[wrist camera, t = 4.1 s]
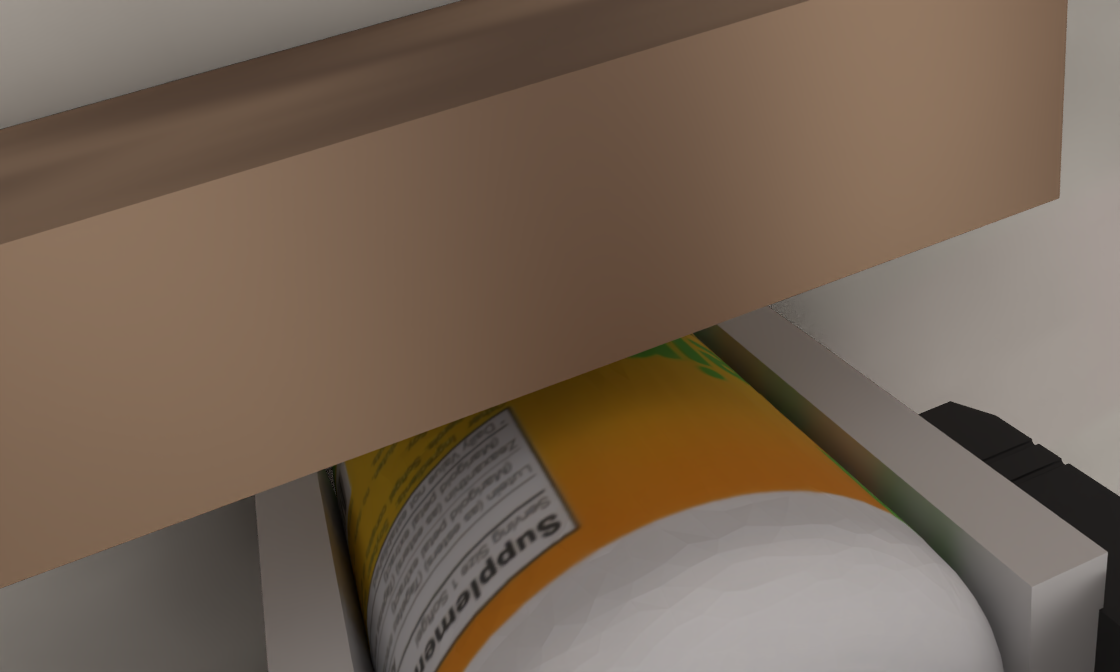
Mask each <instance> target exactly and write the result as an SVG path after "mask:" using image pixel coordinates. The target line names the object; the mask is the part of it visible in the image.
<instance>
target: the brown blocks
mask: <svg viewBox="0 0 1120 672" xmlns="http://www.w3.org/2000/svg"><path fill="white" fill-rule="evenodd" d="M1067 4H1068V0H462V1H459V2H455V3H451V4H448V5H444V6H441V7H437V8H434V9H430V10H426V11H423V12H419V13H416V14H412V15H408V16H405V17H401V18H398V19H394V20H391V21H387V22H383V23H380V24H376V25H373V26H369V27H366V28H362V29H358V30H355V31H351V32H348V33H344V34H341V35H337V36H333V37H330V38H326V39H323V40H319V41H315V42H312V43H308V44H305V45H301V46H298V47H294V48H290V49H287V50H283V51H280V52H276V53H273V54H269V55H265V56H262V57H258V58H255V59H251V60H248V61H244V62H240V63H237V64H233V65H230V66H226V67H222V68H219V69H215V70H212V71H208V72H205V73H201V74H197V75H194V76H190V77H187V78H183V79H180V80H176V81H172V82H169V83H165V84H162V85H158V86H155V87H151V88H147V89H144V90H140V91H137V92H133V93H129V94H126V95H122V96H119V97H115V98H112V99H108V100H104V101H101V102H97V103H94V104H90V105H87V106H83V107H79V108H76V109H72V110H69V111H65V112H62V113H58V114H54V115H51V116H47V117H44V118H40V119H36V120H33V121H29V122H26V123H22V124H19V125H15V126H11V127H8V128H4V129H1V130H0V588H3V587H6V586H8V585H11V584H14V583H16V582H19V581H22V580H25V579H27V578H30V577H33V576H35V575H38V574H41V573H44V572H46V571H49V570H52V569H54V568H57V567H60V566H63V565H65V564H68V563H71V562H73V561H76V560H79V559H82V558H84V557H87V556H90V555H92V554H95V553H98V552H101V551H103V550H106V549H109V548H111V547H114V546H117V545H119V544H122V543H125V542H128V541H130V540H133V539H136V538H138V537H141V536H144V535H147V534H149V533H152V532H155V531H157V530H160V529H163V528H166V527H168V526H171V525H174V524H176V523H179V522H182V521H185V520H187V519H190V518H193V517H195V516H198V515H201V514H204V513H206V512H209V511H212V510H214V509H217V508H220V507H223V506H225V505H228V504H231V503H233V502H236V501H239V500H242V499H244V498H247V497H250V496H252V495H255V494H258V493H261V492H263V491H266V490H269V489H271V488H274V487H277V486H280V485H282V484H285V483H288V482H290V481H293V480H296V479H299V478H301V477H304V476H307V475H309V474H312V473H315V472H318V471H320V470H323V469H326V468H328V467H331V466H334V465H337V464H339V463H342V462H345V461H347V460H350V459H353V458H356V457H358V456H361V455H364V454H366V453H369V452H372V451H375V450H377V449H380V448H383V447H385V446H388V445H391V444H393V443H396V442H399V441H402V440H404V439H407V438H410V437H412V436H415V435H418V434H421V433H423V432H426V431H429V430H431V429H434V428H437V427H440V426H442V425H445V424H448V423H450V422H453V421H456V420H459V419H461V418H464V417H467V416H469V415H472V414H475V413H478V412H480V411H483V410H486V409H488V408H491V407H494V406H497V405H499V404H502V403H505V402H507V401H510V400H513V399H516V398H518V397H521V396H524V395H526V394H529V393H532V392H535V391H537V390H540V389H543V388H545V387H548V386H551V385H554V384H556V383H559V382H562V381H564V380H567V379H570V378H573V377H575V376H578V375H581V374H583V373H586V372H589V371H592V370H594V369H597V368H600V367H602V366H605V365H608V364H611V363H613V362H616V361H619V360H621V359H624V358H627V357H630V356H632V355H635V354H638V353H640V352H643V351H646V350H649V349H651V348H654V347H657V346H659V345H662V344H665V343H667V342H670V341H673V340H676V339H678V338H681V337H684V336H686V335H689V334H692V333H695V332H697V331H700V330H703V329H705V328H708V327H711V326H714V325H716V324H719V323H722V322H724V321H727V320H730V319H733V318H735V317H738V316H741V315H743V314H746V313H749V312H752V311H754V310H757V309H760V308H762V307H765V306H768V305H771V304H773V303H776V302H779V301H781V300H784V299H787V298H790V297H792V296H795V295H798V294H800V293H803V292H806V291H809V290H811V289H814V288H817V287H819V286H822V285H825V284H828V283H830V282H833V281H836V280H838V279H841V278H844V277H847V276H849V275H852V274H855V273H857V272H860V271H863V270H866V269H868V268H871V267H874V266H876V265H879V264H882V263H885V262H887V261H890V260H893V259H895V258H898V257H901V256H904V255H906V254H909V253H912V252H914V251H917V250H920V249H923V248H925V247H928V246H931V245H933V244H936V243H939V242H941V241H944V240H947V239H950V238H952V237H955V236H958V235H960V234H963V233H966V232H969V231H971V230H974V229H977V228H979V227H982V226H985V225H988V224H990V223H993V222H996V221H998V220H1001V219H1004V218H1007V217H1009V216H1012V215H1015V214H1017V213H1020V212H1023V211H1026V210H1028V209H1031V208H1034V207H1036V206H1039V205H1042V204H1045V203H1047V202H1050V201H1053V200H1055V199H1058V198H1059V195H1060V171H1061V148H1062V124H1063V100H1064V76H1065V52H1066V28H1067Z"/></svg>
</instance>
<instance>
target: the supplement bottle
mask: <svg viewBox="0 0 1120 672" xmlns="http://www.w3.org/2000/svg"><path fill="white" fill-rule="evenodd" d="M332 468H333V476H334V484H335V490H336V495H337V501H338V506H339V511H340V515H341V519H342V523H343V528H344V533H345V538H346V542H347V546H348V551H349V556H350V561H351V566H352V571H353V575H354V579H355V584H356V588H357V594H358V599H359V603H360V608H361V612H362V616H363V620H364V625H365V630H366V637H367V641H368V649H369V651H370V657H371V661H372V666H373V670H374V672H1004V669H1003V663H1002V658H1001V654H1000V651H999V648H998V646H997V643H996V640H995V637H994V634H993V631H992V629H991V626H990V624H989V622H988V620H987V618H986V616H985V614H984V613H983V611H982V609H981V607H980V606H979V604H978V602H977V600H976V599H975V597H974V596H973V594H972V593H971V592H970V590H969V589H968V587H967V586H966V585H965V583H964V582H963V581H962V580H961V578H960V577H959V576H958V574H957V573H956V572H955V571H954V570H953V569H952V568H951V567H950V566H949V565H948V564H947V563H946V562H945V561H944V560H943V559H942V558H941V557H940V556H939V555H938V554H937V553H936V552H935V551H934V550H933V549H932V548H931V547H930V546H929V545H928V544H927V543H926V542H925V541H924V540H923V538H922V537H921V536H919V535H918V534H917V533H916V532H915V531H914V530H913V529H912V528H911V527H910V526H909V525H907V524H906V523H905V522H904V521H903V520H902V519H901V518H900V517H899V516H898V515H897V514H896V513H894V512H893V511H892V510H891V509H890V508H889V507H887V506H886V505H885V504H884V503H883V502H881V501H880V500H879V499H878V498H877V497H876V496H875V495H873V494H872V493H871V492H870V491H869V490H868V489H867V488H866V487H864V486H863V485H862V484H861V483H860V482H859V481H858V480H857V479H855V478H854V477H853V476H852V475H851V474H850V473H849V472H848V471H846V470H845V469H844V468H843V467H842V466H841V465H840V464H839V463H837V462H836V461H835V460H834V459H833V458H832V457H831V456H830V455H828V454H827V453H826V452H825V451H824V450H823V449H822V448H820V447H819V446H818V445H817V444H816V443H815V442H814V441H812V440H811V439H810V438H809V437H808V436H807V435H806V434H804V433H803V432H802V431H801V430H800V429H799V428H798V427H796V426H795V425H794V424H793V423H792V422H791V421H790V420H788V419H787V418H786V417H785V416H784V415H783V414H782V413H780V412H779V411H778V410H777V409H776V408H775V407H774V406H773V405H772V404H771V403H770V402H769V401H768V400H766V399H765V398H764V397H763V396H762V395H761V394H759V393H758V392H757V391H756V390H755V389H754V388H753V387H752V386H751V385H750V384H749V383H747V382H746V381H745V380H744V379H743V378H742V377H740V376H739V375H738V374H737V373H736V372H735V371H734V370H733V369H732V368H730V367H729V366H728V365H727V364H726V363H725V362H724V361H723V360H721V359H720V358H719V357H718V356H717V355H716V354H715V353H714V352H713V351H711V350H710V349H709V348H708V347H707V346H706V345H705V344H704V343H702V342H701V341H700V340H699V339H698V338H697V337H696V336H695V335H694V334H693V333H692V334H689V335H686V336H684V337H681V338H678V339H676V340H673V341H670V342H667V343H665V344H662V345H659V346H657V347H654V348H651V349H649V350H646V351H643V352H640V353H638V354H635V355H632V356H630V357H627V358H624V359H621V360H619V361H616V362H613V363H611V364H608V365H605V366H602V367H600V368H597V369H594V370H592V371H589V372H586V373H583V374H581V375H578V376H575V377H573V378H570V379H567V380H564V381H562V382H559V383H556V384H554V385H551V386H548V387H545V388H543V389H540V390H537V391H535V392H532V393H529V394H526V395H524V396H521V397H518V398H516V399H513V400H510V401H507V402H505V403H502V404H499V405H497V406H494V407H491V408H488V409H486V410H483V411H480V412H478V413H475V414H472V415H469V416H467V417H464V418H461V419H459V420H456V421H453V422H450V423H448V424H445V425H442V426H440V427H437V428H434V429H431V430H429V431H426V432H423V433H421V434H418V435H415V436H412V437H410V438H407V439H404V440H402V441H399V442H396V443H393V444H391V445H388V446H385V447H383V448H380V449H377V450H375V451H372V452H369V453H366V454H364V455H361V456H358V457H356V458H353V459H350V460H347V461H345V462H342V463H339V464H337V465H334V466H332Z"/></svg>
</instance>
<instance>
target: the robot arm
mask: <svg viewBox="0 0 1120 672" xmlns="http://www.w3.org/2000/svg"><path fill="white" fill-rule="evenodd" d="M693 334H694V335H695V336H696V337H697V338H698V339H699V340H700V341H701V342H702V343H704V344H705V345H706V346H707V347H708V348H709V349H710V350H711V351H713V352H714V353H715V354H716V355H717V356H718V357H719V358H720V359H721V360H723V361H724V362H725V363H726V364H727V365H728V366H729V367H730V368H732V369H733V370H734V371H735V372H736V373H737V374H738V375H739V376H740V377H742V378H743V379H744V380H745V381H746V382H747V383H749V384H750V385H751V386H752V387H753V388H754V389H755V390H756V391H757V392H758V393H759V394H761V395H762V396H763V397H764V398H765V399H766V400H768V401H769V402H770V403H771V404H772V405H773V406H774V407H775V408H776V409H777V410H778V411H779V412H780V413H782V414H783V415H784V416H785V417H786V418H787V419H788V420H790V421H791V422H792V423H793V424H794V425H795V426H796V427H798V428H799V429H800V430H801V431H802V432H803V433H804V434H806V435H807V436H808V437H809V438H810V439H811V440H812V441H814V442H815V443H816V444H817V445H818V446H819V447H820V448H822V449H823V450H824V451H825V452H826V453H827V454H828V455H830V456H831V457H832V458H833V459H834V460H835V461H836V462H837V463H839V464H840V465H841V466H842V467H843V468H844V469H845V470H846V471H848V472H849V473H850V474H851V475H852V476H853V477H854V478H855V479H857V480H858V481H859V482H860V483H861V484H862V485H863V486H864V487H866V488H867V489H868V490H869V491H870V492H871V493H872V494H873V495H875V496H876V497H877V498H878V499H879V500H880V501H881V502H883V503H884V504H885V505H886V506H887V507H889V508H890V509H891V510H892V511H893V512H894V513H896V514H897V515H898V516H899V517H900V518H901V519H902V520H903V521H904V522H905V523H906V524H907V525H909V526H910V527H911V528H912V529H913V530H914V531H915V532H916V533H917V534H918V535H919V536H921V537H922V538H923V540H924V541H925V542H926V543H927V544H928V545H929V546H930V547H931V548H932V549H933V550H934V551H935V552H936V553H937V554H938V555H939V556H940V557H941V558H942V559H943V560H944V561H945V562H946V563H947V564H948V565H949V566H950V567H951V568H952V569H953V570H954V571H955V572H956V573H957V574H958V576H959V577H960V578H961V580H962V581H963V582H964V583H965V585H966V586H967V587H968V589H969V590H970V592H971V593H972V594H973V596H974V597H975V599H976V600H977V602H978V604H979V606H980V607H981V609H982V611H983V613H984V614H985V616H986V618H987V620H988V622H989V624H990V626H991V629H992V631H993V634H994V637H995V640H996V643H997V646H998V648H999V651H1000V654H1001V658H1002V663H1003V669H1004V672H1120V496H1118V495H1116V494H1115V493H1113V492H1112V491H1110V490H1109V489H1107V488H1106V487H1104V486H1103V485H1101V484H1100V483H1098V482H1097V481H1095V480H1094V479H1092V478H1090V477H1089V476H1087V475H1086V474H1084V473H1083V472H1081V471H1080V470H1078V469H1077V468H1075V467H1074V466H1072V465H1071V464H1066V465H1065V464H1064V463H1063V462H1062V459H1061V458H1060V457H1058V456H1057V455H1055V454H1054V453H1052V452H1051V451H1049V450H1048V449H1046V448H1045V447H1043V446H1042V445H1040V444H1037V445H1034V444H1033V442H1032V439H1031V438H1029V437H1028V436H1026V435H1025V434H1023V433H1022V432H1020V431H1019V430H1017V429H1015V428H1014V427H1012V426H1011V425H1009V424H1008V423H1006V422H1005V421H1003V420H1002V419H1000V418H999V417H997V416H995V415H992V414H989V413H986V412H983V411H979V410H976V409H973V408H970V407H967V406H963V405H960V404H957V403H954V402H951V401H950V402H948V403H945V404H943V405H940V406H938V407H935V408H933V409H930V410H928V411H926V412H923V413H921V414H917V413H915V412H914V411H912V410H911V409H910V408H908V407H907V406H905V405H904V404H903V403H901V402H900V401H899V400H897V399H896V398H894V397H893V396H892V395H890V394H889V393H888V392H886V391H885V390H883V389H882V388H881V387H879V386H878V385H876V384H875V383H874V382H872V381H871V380H870V379H868V378H867V377H865V376H864V375H863V374H861V373H860V372H858V371H857V370H856V369H854V368H853V367H852V366H850V365H849V364H847V363H846V362H845V361H843V360H842V359H841V358H839V357H838V356H836V355H835V354H834V353H832V352H831V351H829V350H828V349H827V348H825V347H824V346H823V345H821V344H820V343H818V342H817V341H816V340H814V339H813V338H812V337H810V336H809V335H807V334H806V333H805V332H803V331H802V330H800V329H799V328H798V327H796V326H795V325H794V324H792V323H791V322H789V321H788V320H787V319H785V318H784V317H783V316H781V315H780V314H778V313H777V312H776V311H774V310H773V309H771V308H770V307H769V306H765V307H762V308H760V309H757V310H754V311H752V312H749V313H746V314H743V315H741V316H738V317H735V318H733V319H730V320H727V321H724V322H722V323H719V324H716V325H714V326H711V327H708V328H705V329H703V330H700V331H697V332H695V333H693ZM255 503H256V517H257V530H258V543H259V557H260V570H261V584H262V597H263V611H264V624H265V637H266V651H267V664H268V672H374V670H373V666H372V661H371V657H370V651H369V649H368V641H367V637H366V630H365V625H364V620H363V616H362V612H361V608H360V603H359V599H358V594H357V588H356V584H355V579H354V575H353V571H352V566H351V561H350V556H349V551H348V546H347V542H346V538H345V533H344V528H343V523H342V519H341V515H340V511H339V506H338V501H337V497H336V495H335V492H334V490H333V488H332V485H331V483H330V480H329V478H328V475H327V473H326V471H325V469H323V470H320V471H318V472H315V473H312V474H309V475H307V476H304V477H301V478H299V479H296V480H293V481H290V482H288V483H285V484H282V485H280V486H277V487H274V488H271V489H269V490H266V491H263V492H261V493H258V494H255Z"/></svg>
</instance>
